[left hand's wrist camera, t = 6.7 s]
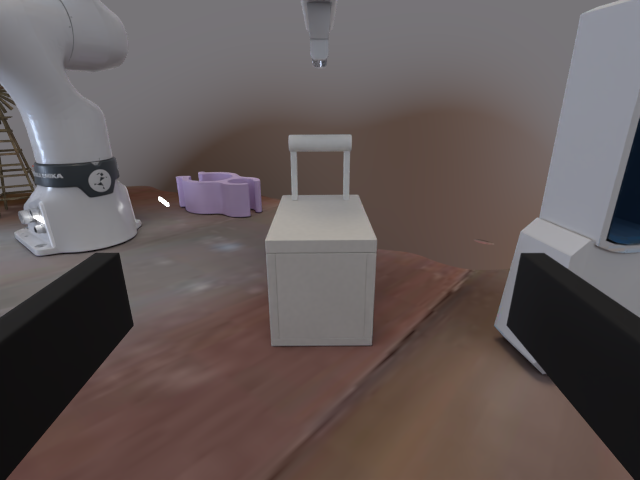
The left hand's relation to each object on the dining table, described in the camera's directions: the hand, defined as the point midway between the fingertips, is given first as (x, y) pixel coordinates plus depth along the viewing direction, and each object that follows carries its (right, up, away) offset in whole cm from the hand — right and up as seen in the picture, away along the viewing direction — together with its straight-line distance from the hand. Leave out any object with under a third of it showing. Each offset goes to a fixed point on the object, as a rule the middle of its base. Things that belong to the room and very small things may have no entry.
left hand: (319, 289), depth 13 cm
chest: (0, -6, +33) cm, 34 cm away
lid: (0, +4, +30) cm, 30 cm away
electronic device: (+24, -9, +24) cm, 36 cm away
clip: (-23, +9, +75) cm, 78 cm away
